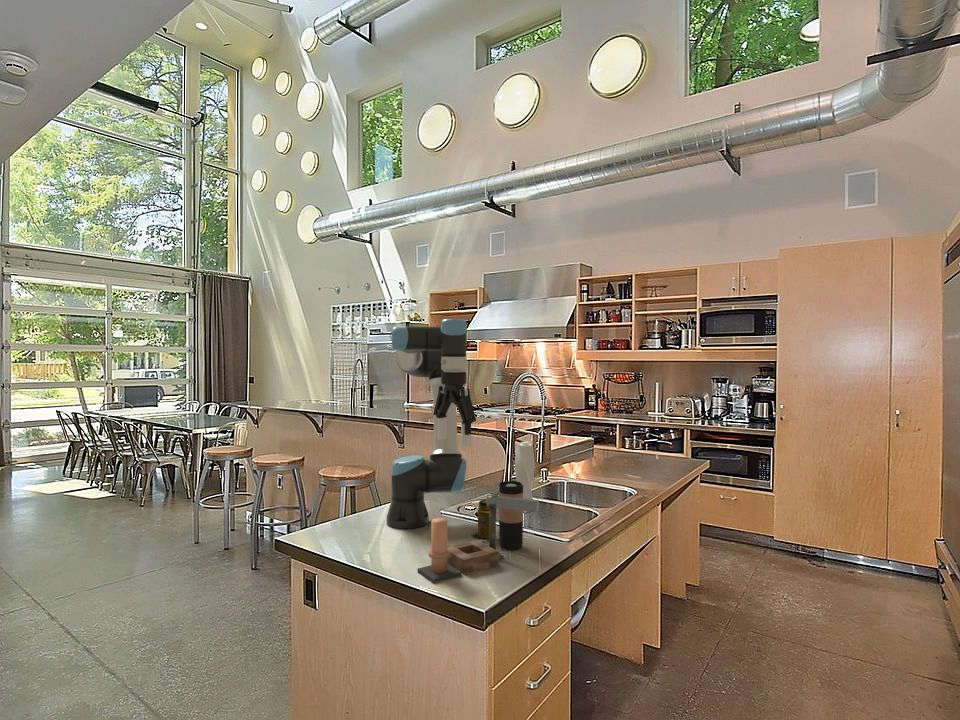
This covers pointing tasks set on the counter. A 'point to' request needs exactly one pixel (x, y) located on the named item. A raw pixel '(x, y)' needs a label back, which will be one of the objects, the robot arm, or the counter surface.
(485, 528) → the condiment
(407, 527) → the robot arm
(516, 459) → the skyscraper
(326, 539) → the counter surface
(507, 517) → the travel mug
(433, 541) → the peg
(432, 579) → the mat
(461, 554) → the socket block
